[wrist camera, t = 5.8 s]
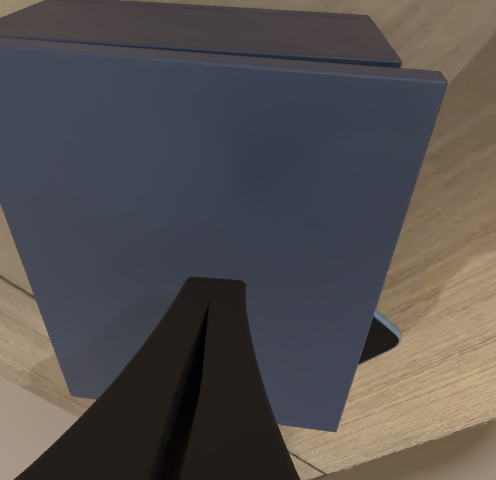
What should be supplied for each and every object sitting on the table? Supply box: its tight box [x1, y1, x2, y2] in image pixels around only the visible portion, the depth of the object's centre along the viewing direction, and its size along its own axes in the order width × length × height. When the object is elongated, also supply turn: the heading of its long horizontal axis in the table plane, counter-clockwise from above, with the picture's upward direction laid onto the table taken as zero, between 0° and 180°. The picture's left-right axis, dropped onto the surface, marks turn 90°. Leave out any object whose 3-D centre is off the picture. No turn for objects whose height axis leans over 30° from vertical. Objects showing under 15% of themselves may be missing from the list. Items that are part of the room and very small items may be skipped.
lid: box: [0, 37, 448, 432], centre depth 15 cm, size 12×16×1 cm
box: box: [0, 0, 402, 68], centre depth 18 cm, size 12×16×6 cm
